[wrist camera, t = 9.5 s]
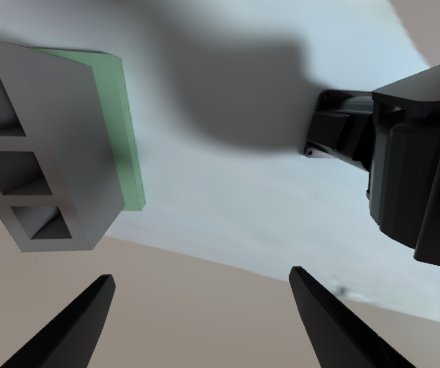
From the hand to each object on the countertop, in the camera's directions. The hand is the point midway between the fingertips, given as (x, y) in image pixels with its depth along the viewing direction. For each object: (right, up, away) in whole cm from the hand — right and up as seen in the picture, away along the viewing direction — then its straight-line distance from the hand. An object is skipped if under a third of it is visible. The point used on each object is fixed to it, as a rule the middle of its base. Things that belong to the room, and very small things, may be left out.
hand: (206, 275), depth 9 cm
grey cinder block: (-12, +8, +7) cm, 15 cm away
